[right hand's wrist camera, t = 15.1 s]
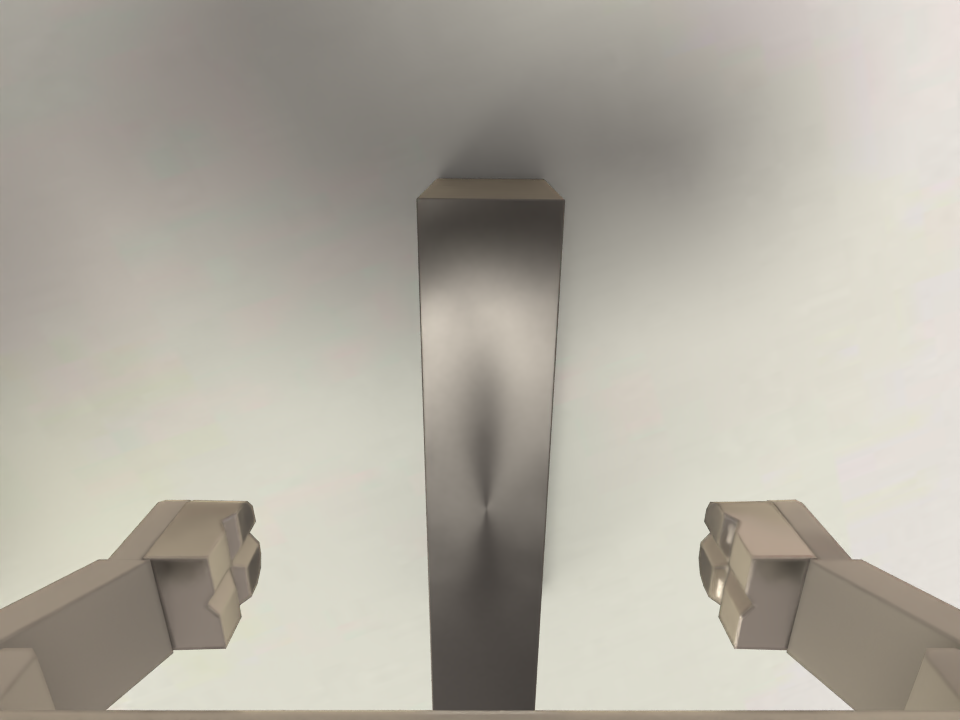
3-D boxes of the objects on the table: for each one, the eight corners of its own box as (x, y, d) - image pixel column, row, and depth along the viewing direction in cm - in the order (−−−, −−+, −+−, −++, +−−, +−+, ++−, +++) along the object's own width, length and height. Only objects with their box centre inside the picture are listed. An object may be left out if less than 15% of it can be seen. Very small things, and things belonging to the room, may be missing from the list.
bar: (436, 178, 27) (416, 197, 19) (544, 179, 27) (565, 199, 19) (444, 597, 36) (432, 719, 29) (525, 599, 36) (534, 721, 28)
